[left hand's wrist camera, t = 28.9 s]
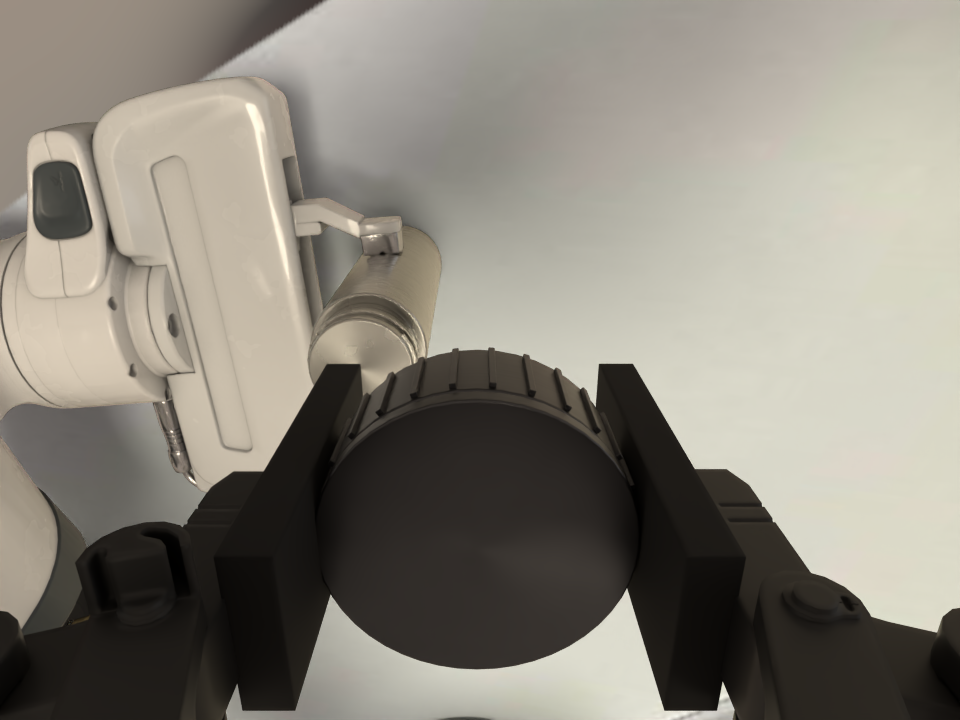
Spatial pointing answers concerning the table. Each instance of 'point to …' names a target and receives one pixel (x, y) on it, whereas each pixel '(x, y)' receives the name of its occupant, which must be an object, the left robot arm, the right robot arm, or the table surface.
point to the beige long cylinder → (380, 313)
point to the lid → (477, 512)
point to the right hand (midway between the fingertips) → (409, 292)
